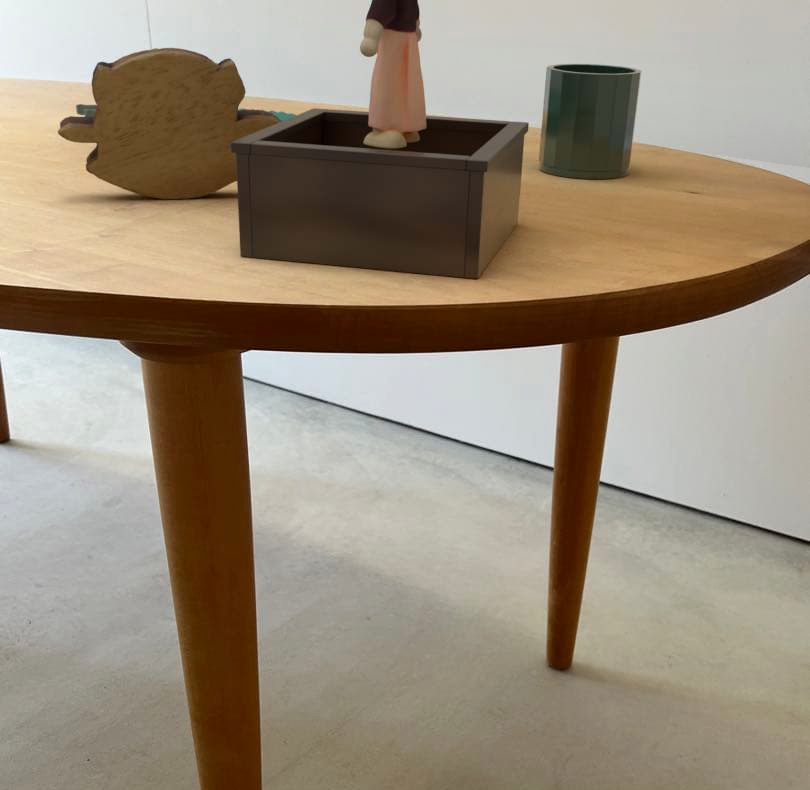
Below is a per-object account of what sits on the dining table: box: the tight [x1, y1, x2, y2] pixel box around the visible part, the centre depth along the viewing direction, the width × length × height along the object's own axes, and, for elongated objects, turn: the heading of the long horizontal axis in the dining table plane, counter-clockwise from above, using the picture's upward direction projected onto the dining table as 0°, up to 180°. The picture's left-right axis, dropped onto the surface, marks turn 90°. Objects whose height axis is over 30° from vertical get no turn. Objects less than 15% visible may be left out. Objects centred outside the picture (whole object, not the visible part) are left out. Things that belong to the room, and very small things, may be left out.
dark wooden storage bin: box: [231, 107, 530, 280], centre depth 70 cm, size 15×15×7 cm
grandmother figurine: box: [359, 0, 427, 149], centre depth 66 cm, size 8×4×13 cm, turn 169°
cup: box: [538, 63, 642, 180], centre depth 92 cm, size 8×8×8 cm
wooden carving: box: [57, 47, 282, 200], centre depth 79 cm, size 16×5×10 cm, turn 109°
